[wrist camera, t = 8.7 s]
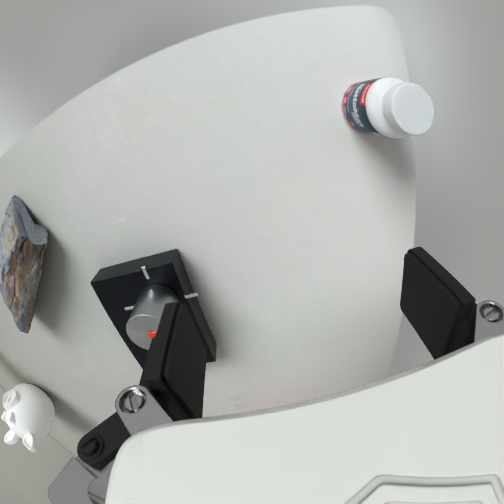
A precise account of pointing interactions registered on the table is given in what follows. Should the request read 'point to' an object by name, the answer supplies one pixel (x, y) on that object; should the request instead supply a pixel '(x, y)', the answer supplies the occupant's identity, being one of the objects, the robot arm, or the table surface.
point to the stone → (21, 262)
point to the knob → (148, 313)
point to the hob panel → (134, 281)
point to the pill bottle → (388, 108)
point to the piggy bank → (27, 415)
